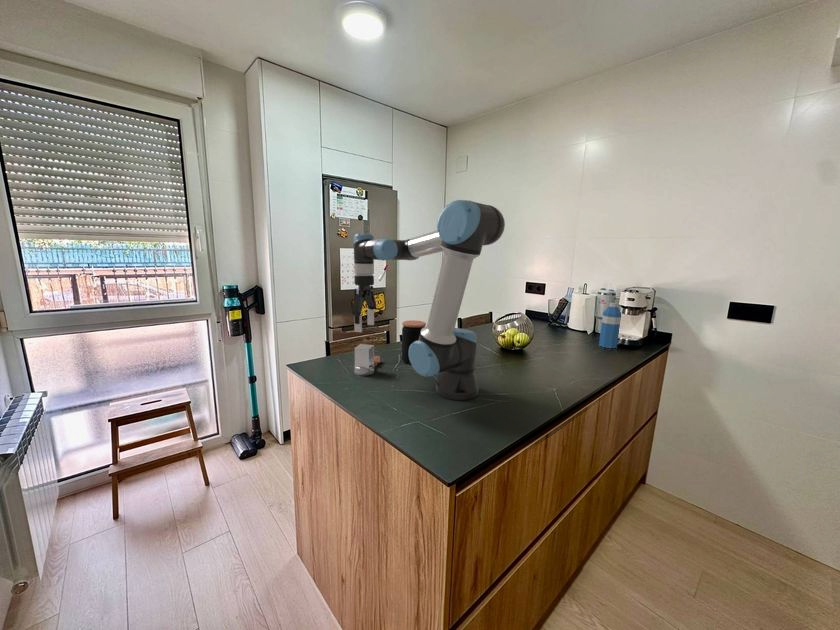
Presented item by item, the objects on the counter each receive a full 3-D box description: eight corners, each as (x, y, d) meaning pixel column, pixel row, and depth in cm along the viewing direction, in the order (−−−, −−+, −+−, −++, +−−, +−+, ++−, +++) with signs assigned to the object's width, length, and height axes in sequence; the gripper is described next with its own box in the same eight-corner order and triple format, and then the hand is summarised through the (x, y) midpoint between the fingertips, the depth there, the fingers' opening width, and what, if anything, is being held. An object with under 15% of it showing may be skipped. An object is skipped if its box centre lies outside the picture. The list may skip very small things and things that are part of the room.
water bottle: (601, 348, 181) (607, 303, 176) (595, 344, 190) (601, 301, 185) (620, 350, 180) (626, 304, 175) (613, 345, 189) (619, 302, 184)
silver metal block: (374, 363, 138) (374, 345, 136) (368, 368, 132) (368, 349, 130) (360, 362, 139) (360, 343, 137) (354, 367, 133) (354, 347, 132)
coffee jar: (429, 360, 153) (430, 322, 150) (416, 366, 144) (417, 326, 141) (410, 356, 159) (410, 319, 156) (396, 361, 150) (397, 323, 147)
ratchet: (370, 376, 131) (370, 359, 130) (351, 374, 133) (351, 358, 132) (384, 362, 149) (384, 347, 147) (367, 360, 150) (367, 345, 149)
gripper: (366, 273, 141) (367, 321, 145) (341, 276, 117) (342, 334, 121) (383, 273, 140) (383, 322, 144) (361, 277, 116) (361, 336, 119)
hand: (364, 328), depth 132 cm, fingers open, 13 cm apart
